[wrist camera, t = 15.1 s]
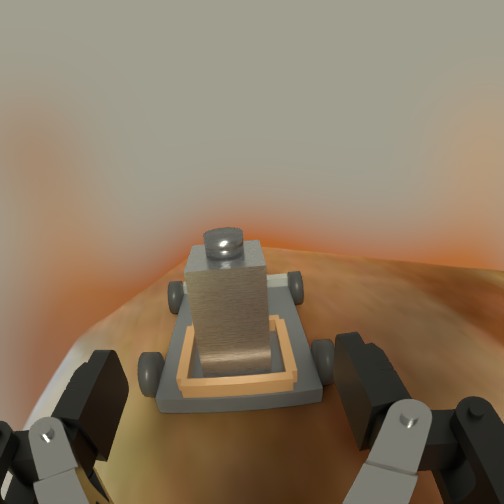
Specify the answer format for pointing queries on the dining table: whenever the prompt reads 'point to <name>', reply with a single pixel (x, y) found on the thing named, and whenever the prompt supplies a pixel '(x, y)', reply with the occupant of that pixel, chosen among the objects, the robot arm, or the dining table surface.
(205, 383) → the chassis
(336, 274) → the dining table surface
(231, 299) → the block
